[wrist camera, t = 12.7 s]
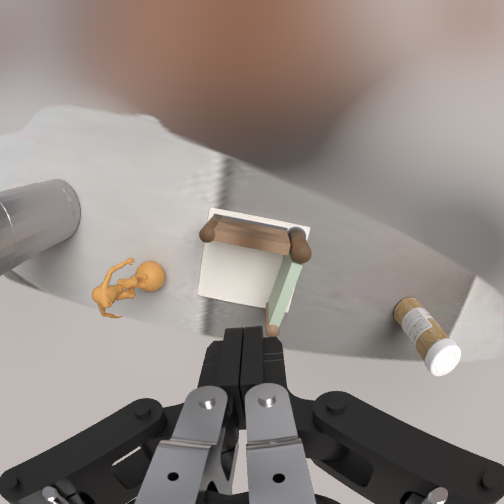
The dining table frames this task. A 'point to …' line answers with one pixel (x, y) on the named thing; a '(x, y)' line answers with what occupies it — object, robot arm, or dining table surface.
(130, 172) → the dining table surface
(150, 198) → the dining table surface
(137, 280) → the figurine
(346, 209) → the dining table surface
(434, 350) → the sprinkles bottle
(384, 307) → the dining table surface
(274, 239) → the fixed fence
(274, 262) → the card
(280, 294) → the swing panel
